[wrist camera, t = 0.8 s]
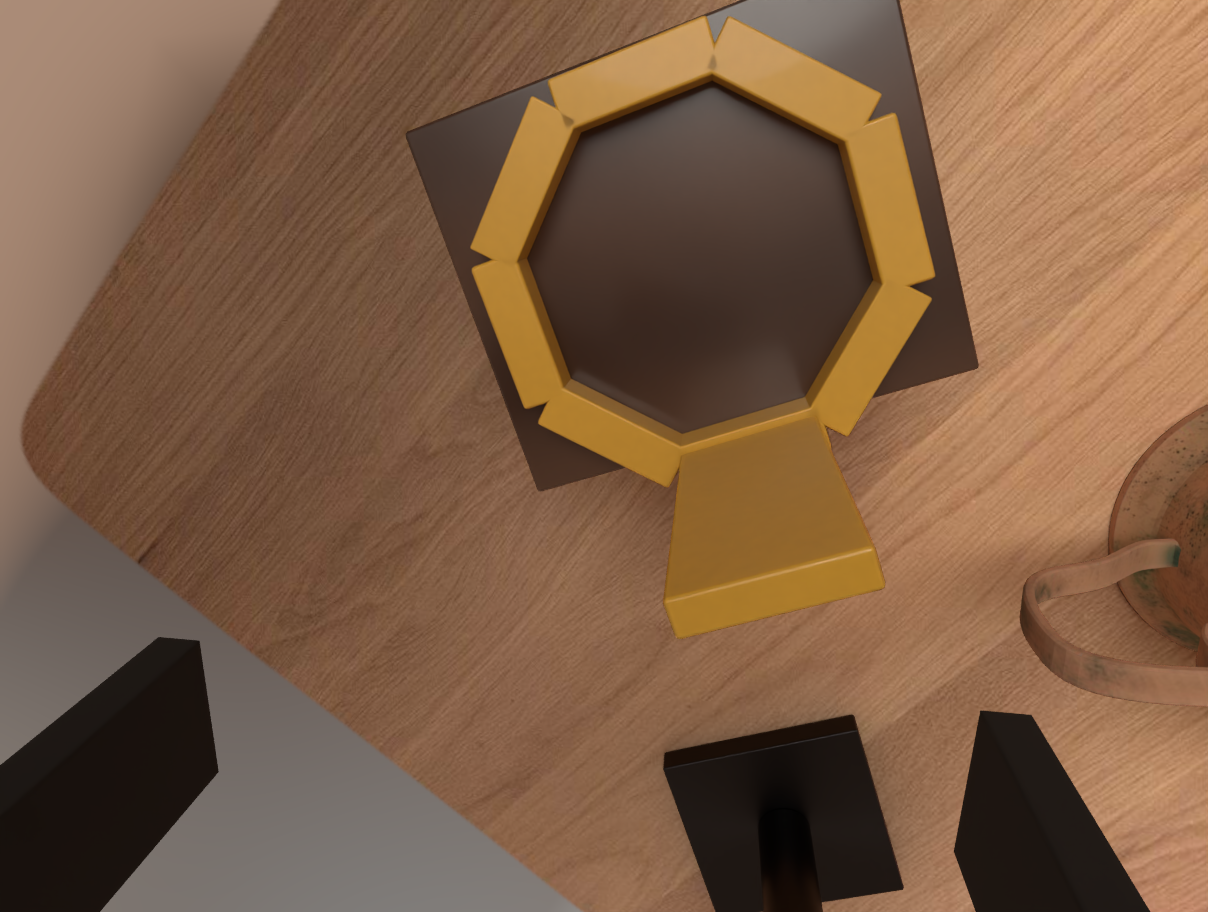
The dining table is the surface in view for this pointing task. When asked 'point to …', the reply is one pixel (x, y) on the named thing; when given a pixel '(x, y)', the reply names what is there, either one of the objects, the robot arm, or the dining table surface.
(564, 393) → the ring
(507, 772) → the dining table surface
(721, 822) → the post
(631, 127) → the block
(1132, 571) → the mug
